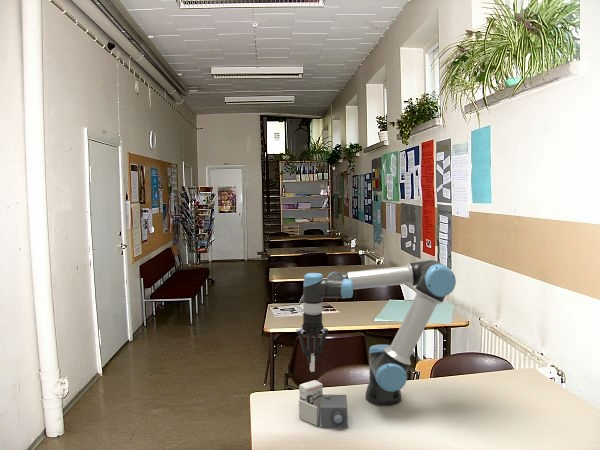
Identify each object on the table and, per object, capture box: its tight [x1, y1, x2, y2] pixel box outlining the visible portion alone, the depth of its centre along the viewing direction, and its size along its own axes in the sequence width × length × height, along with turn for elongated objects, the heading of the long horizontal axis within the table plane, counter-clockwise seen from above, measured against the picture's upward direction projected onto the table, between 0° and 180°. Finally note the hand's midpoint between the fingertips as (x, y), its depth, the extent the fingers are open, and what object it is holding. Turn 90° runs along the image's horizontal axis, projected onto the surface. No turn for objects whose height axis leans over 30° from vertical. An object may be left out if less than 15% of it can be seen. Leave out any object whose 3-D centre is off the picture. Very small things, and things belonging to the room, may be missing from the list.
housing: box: [320, 394, 349, 429], centre depth 196 cm, size 10×14×9 cm
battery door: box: [298, 399, 321, 427], centre depth 196 cm, size 1×11×7 cm, turn 44°
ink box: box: [298, 379, 324, 408], centre depth 206 cm, size 8×5×12 cm, turn 123°
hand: (312, 370), depth 202 cm, fingers closed
